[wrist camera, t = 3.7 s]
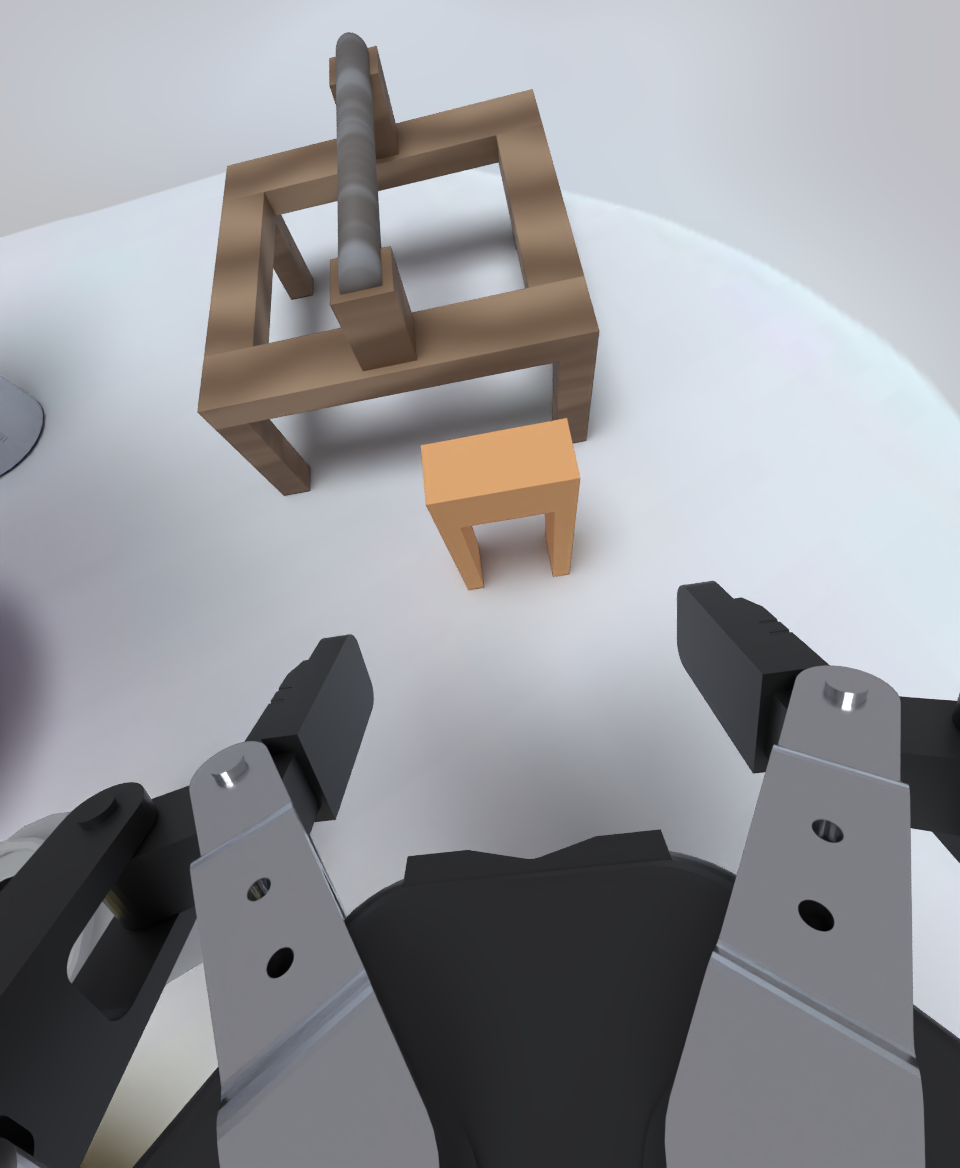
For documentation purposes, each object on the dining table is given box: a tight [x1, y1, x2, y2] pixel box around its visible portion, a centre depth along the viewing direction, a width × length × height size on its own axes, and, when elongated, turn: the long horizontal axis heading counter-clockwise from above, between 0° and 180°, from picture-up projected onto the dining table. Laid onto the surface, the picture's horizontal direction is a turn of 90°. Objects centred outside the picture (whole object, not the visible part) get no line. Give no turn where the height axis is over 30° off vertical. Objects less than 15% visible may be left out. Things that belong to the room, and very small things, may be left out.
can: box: [0, 812, 203, 984], centre depth 21 cm, size 8×8×12 cm
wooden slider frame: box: [197, 33, 599, 495], centre depth 30 cm, size 22×22×14 cm
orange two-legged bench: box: [421, 418, 580, 590], centre depth 25 cm, size 3×6×11 cm, turn 97°
